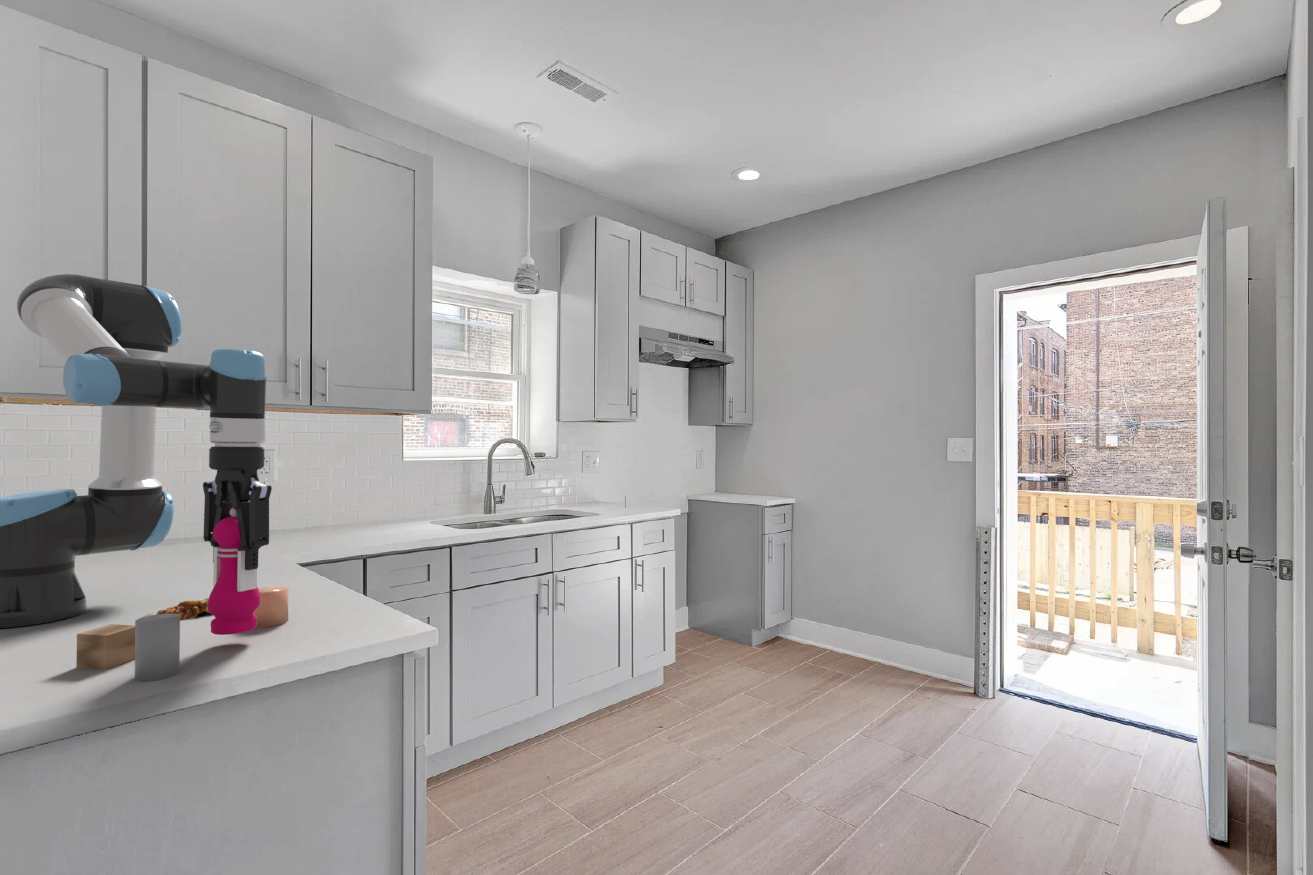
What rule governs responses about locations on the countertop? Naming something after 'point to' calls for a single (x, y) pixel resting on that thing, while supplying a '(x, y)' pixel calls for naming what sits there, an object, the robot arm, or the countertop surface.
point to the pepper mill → (231, 585)
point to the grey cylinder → (157, 647)
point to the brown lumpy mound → (186, 609)
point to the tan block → (106, 646)
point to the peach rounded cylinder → (272, 606)
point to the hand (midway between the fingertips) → (235, 587)
